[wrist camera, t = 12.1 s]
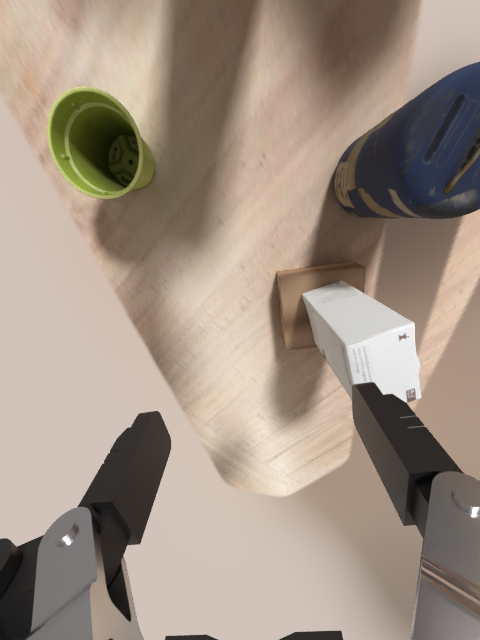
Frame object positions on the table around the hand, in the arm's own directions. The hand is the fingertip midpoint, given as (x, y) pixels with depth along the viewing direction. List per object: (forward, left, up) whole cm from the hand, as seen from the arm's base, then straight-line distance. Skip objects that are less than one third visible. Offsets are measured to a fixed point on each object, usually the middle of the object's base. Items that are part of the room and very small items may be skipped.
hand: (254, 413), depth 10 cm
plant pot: (-16, -13, -30) cm, 36 cm away
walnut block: (+6, +9, -30) cm, 32 cm away
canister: (-9, +17, -30) cm, 35 cm away
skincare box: (+7, +10, -25) cm, 28 cm away
